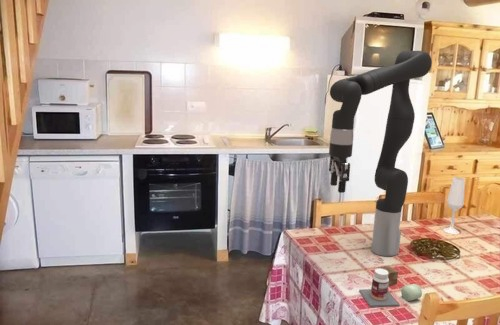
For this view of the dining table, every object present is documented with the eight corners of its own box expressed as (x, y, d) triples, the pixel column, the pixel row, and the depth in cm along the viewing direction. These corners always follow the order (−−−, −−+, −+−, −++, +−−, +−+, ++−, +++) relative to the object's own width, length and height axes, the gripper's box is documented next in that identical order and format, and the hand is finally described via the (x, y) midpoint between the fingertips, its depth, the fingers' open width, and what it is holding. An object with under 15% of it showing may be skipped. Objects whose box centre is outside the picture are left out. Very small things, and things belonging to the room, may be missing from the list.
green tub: (403, 283, 129) (413, 280, 131) (399, 294, 131) (408, 291, 133) (414, 293, 125) (423, 290, 127) (409, 304, 127) (419, 301, 129)
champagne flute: (451, 234, 182) (459, 181, 177) (439, 229, 188) (446, 177, 183) (462, 232, 185) (471, 180, 180) (450, 227, 191) (458, 176, 186)
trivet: (386, 290, 134) (386, 288, 134) (399, 306, 125) (399, 304, 125) (359, 291, 133) (359, 289, 133) (370, 307, 124) (370, 305, 124)
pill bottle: (368, 292, 131) (371, 267, 129) (383, 292, 131) (386, 267, 129) (373, 300, 126) (376, 275, 124) (389, 300, 127) (392, 275, 125)
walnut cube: (387, 277, 142) (388, 265, 141) (396, 284, 138) (398, 271, 137) (376, 280, 141) (378, 267, 140) (385, 286, 137) (387, 273, 136)
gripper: (359, 146, 134) (355, 194, 138) (345, 138, 148) (341, 183, 151) (337, 145, 133) (332, 194, 137) (324, 138, 147) (320, 183, 150)
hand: (337, 188), depth 144 cm, fingers open, 8 cm apart
